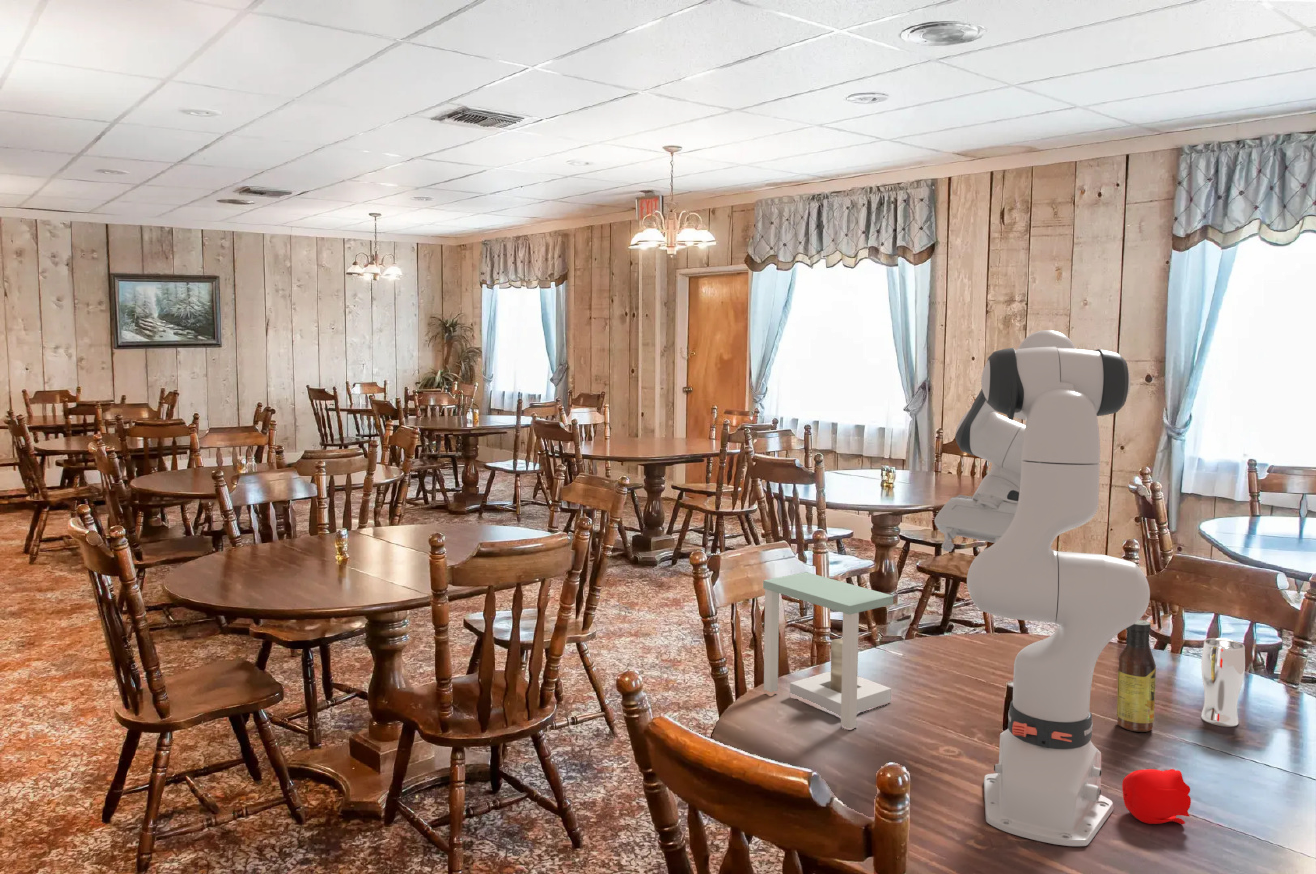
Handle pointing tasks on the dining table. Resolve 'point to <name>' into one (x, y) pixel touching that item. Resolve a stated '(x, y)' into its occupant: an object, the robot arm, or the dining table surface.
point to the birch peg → (836, 665)
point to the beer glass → (1222, 680)
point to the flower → (1156, 795)
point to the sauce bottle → (1136, 680)
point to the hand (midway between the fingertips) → (965, 553)
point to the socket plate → (822, 695)
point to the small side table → (829, 596)
